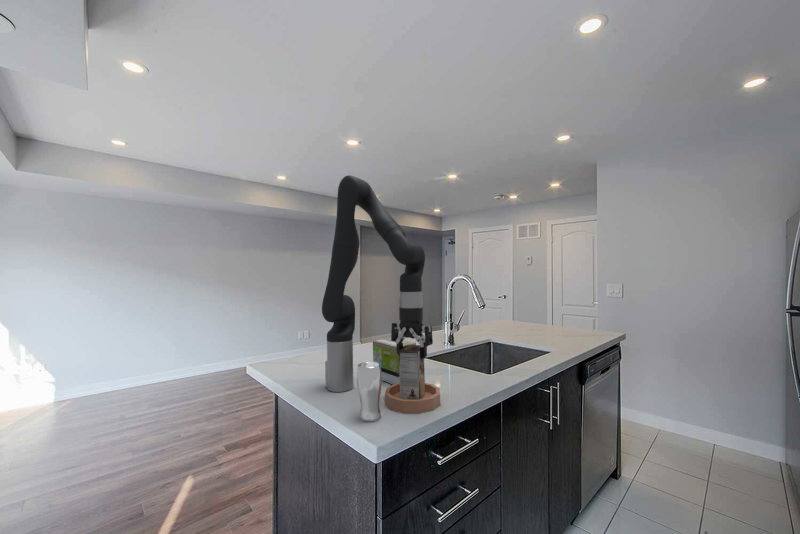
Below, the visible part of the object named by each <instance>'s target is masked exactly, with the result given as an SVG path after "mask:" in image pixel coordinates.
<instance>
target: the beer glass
mask: <svg viewBox="0 0 800 534" xmlns="http://www.w3.org/2000/svg"><path fill="white" fill-rule="evenodd" d="M356 374H357V379H356V382H357V390H358V395H359V396H358V397H359V400H360V411H359V420H361V421H362V422H365V423H374V422H377V421H379V420H380V419H381V418H382V413H381V408H380V407H381V406H380V401H381V399H380V398H381V393H382V386H383V385H382V384H383V380H382V373H381V364H380V363H379V362H373V360H372V361H364V362H360V363H358V364H357V373H356Z"/></svg>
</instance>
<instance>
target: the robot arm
mask: <svg viewBox="0 0 800 534" xmlns="http://www.w3.org/2000/svg"><path fill="white" fill-rule="evenodd" d="M336 199H337V200H336V201H337V202H336V219H335V220H336V221H335V229H334V235H333V236H334V237H333V242H332V249H331V250H332V251H331V257H330V258H331V259H330V265H329V270H328V277H327V283H326V286H325V289H324V290H325V291H324V295H323V298H322V302H321V303H322V304H321V313H322V317H323V318H324V320H325V321H326V322H329V323H333V324H332V327H331V328H330V330H328V331H327V333H326V359H327V360H325V362H324V363H325V366H324V368H325V369H324V370H325V372H324V373H325V389H327V391H330V392H332V393H333V392H334V393H340V392H341V393H342V392H347V391H350V390H352V389H353V388H354V348H353V347H354V344H353V343H354V342H353V341H354V340H353V339H354V337H353V336H354V333H355V330H356V328H355V327H356V306H355V302H354V300H353V298H352V297H351V296H349V295H347V294H345V289H346V285H347V283H348V279H349V277H350V276H351V274H352V272H353V270H354V269H355V267H356V266H357V262H358V257H359V251H360V250H359V249H360V238H359V232H358V229H357V225H356V220H355V215H356V206H358V207H360V209H362V210H363V211H365V213H366V214H367V215H368V216H369V217H370V219H371V222H372V224H373V227H374V229H375V231H376V232H377V233H378V235H379V236H380V237H381V238H382V239H383V241H384V242H385V243H386V244H387V245H388V248H389V250H390V252H391V253H392V256H393V257H394V259H395V260H396V261H397V262H398V263H399V264H402V266H403V265H404V266H405V268H404V269H405V270H404V272H403V273H401V274H400V277H399V297H398V299H399V300H398V310H399V311H398V313H399V314H398V315H399V321H400V322H399V321H395V322H392V323H391V330H390V331H391V335H390V337H391V340H392V341H394V342H396V344H397V353H398V355H399V351H400V350H401V349H402V348H403V343H402V342H403V340H405V339H406V338H407V339H409V338H410V339H413V340H414V339H415V341H416V342H417V343H418V345H420V346H421V347H420V359H424V360H425V359H426V357H428V346H432V345H433V344H434V342H433V341H434V340H433V326H432V325H430V324H429V325H424V324H423V320H424V317H423V316H424V309H423V308H424V300H423V298H424V297H423V286H422V285H423V284H422V277H423V275H424V274H423V273H424V270H425V269H424V267H425V262H426V254H425V250H424V248H423V246H422V245H420V244H418V243H414V242H413V243H411V242H410V241H409V240H408V239H407V238H406V232H405V230H404V229H403V227H402V226H401V225H400V224H399V223H398V222H397V220H395V219H394V218H393V217H392V216H391V214H390V213H389V212H388V211H387V209H386V208H385V207H384V205H383V204H382V202H381V201H380V200H379V198H378V197H377V195H376V194H375V191H374V190H373V188H372V186H371V185H370V183H368V182H367V181H365V180H363V179H361V178H359V177H356V176H353V175H345V176H344V177H342V179H341V180H340V182H339V184H338V189H337V198H336ZM399 331H400V332H399Z"/></svg>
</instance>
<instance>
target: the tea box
mask: <svg viewBox="0 0 800 534" xmlns="http://www.w3.org/2000/svg"><path fill="white" fill-rule="evenodd" d="M402 343H403V347H404V346H405V345H417V343H416V342H413V341H409V340H405V339H404V340H403V342H402ZM372 359H373V360H372V362H379V363H380V364H381V373H382V382H386V383H388V384H391V385H394V384H397V383H400V376H399V355H398V353H397V344H396V342H394V341H392V340H391V336H390V337H387V338H382V339H378V340H373V341H372Z"/></svg>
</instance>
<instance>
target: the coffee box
mask: <svg viewBox="0 0 800 534" xmlns="http://www.w3.org/2000/svg"><path fill="white" fill-rule="evenodd" d="M420 347H421V346H420V344H416V345H405V346H404V347H403V348H402V349H401V350H400V351H399V376H400V398H401V399H408V400H419V399H423V397H424V395H425V383H426V381H425V377H426V376H425V359H420Z"/></svg>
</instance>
